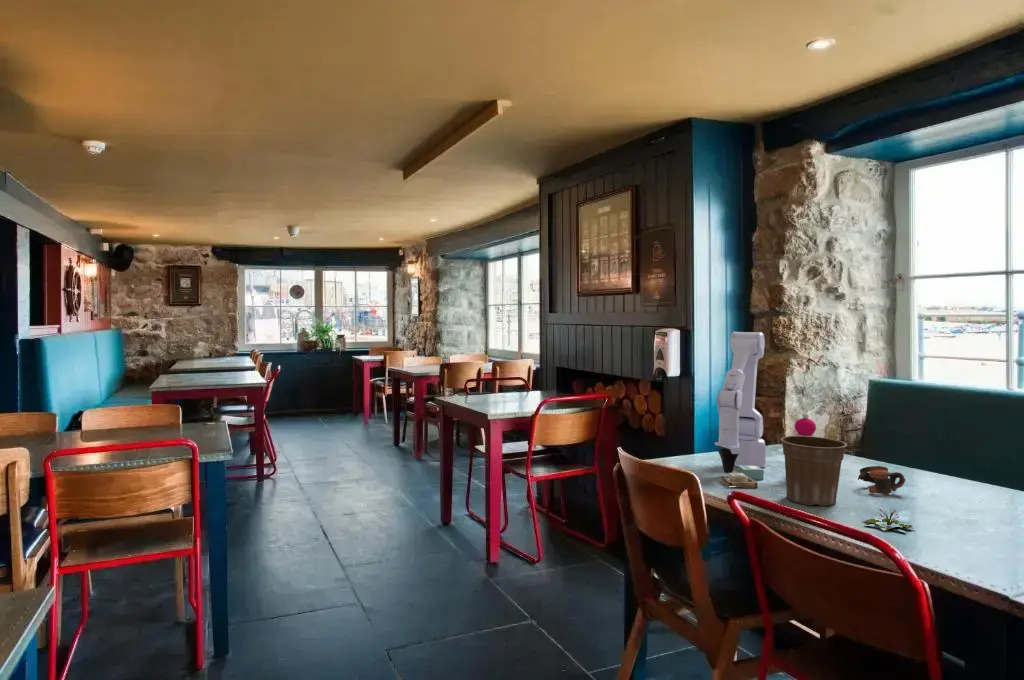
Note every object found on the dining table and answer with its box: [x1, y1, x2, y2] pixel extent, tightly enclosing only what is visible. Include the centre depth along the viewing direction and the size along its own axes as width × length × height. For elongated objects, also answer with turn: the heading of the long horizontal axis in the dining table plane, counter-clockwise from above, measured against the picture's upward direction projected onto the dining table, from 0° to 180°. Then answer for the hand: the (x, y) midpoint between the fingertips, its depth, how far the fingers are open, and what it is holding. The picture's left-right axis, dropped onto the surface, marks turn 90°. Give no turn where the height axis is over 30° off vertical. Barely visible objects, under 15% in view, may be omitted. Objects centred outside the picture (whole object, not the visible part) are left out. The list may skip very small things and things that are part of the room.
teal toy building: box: [736, 465, 765, 481], centre depth 211 cm, size 6×6×3 cm
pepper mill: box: [794, 412, 817, 437], centre depth 210 cm, size 7×7×20 cm
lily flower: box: [863, 507, 914, 531], centre depth 163 cm, size 12×12×5 cm
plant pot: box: [780, 435, 848, 507], centre depth 185 cm, size 16×16×16 cm
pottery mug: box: [857, 465, 906, 495], centre depth 196 cm, size 12×10×8 cm
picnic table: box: [720, 475, 759, 489], centre depth 202 cm, size 8×8×2 cm
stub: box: [728, 472, 748, 482], centre depth 202 cm, size 4×5×3 cm
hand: (728, 472), depth 213 cm, fingers closed
